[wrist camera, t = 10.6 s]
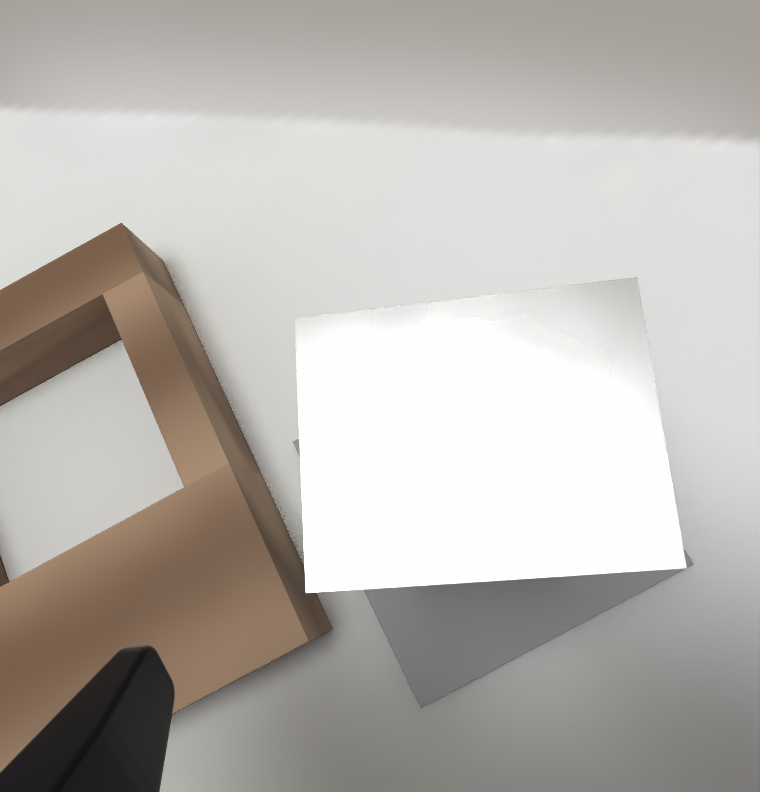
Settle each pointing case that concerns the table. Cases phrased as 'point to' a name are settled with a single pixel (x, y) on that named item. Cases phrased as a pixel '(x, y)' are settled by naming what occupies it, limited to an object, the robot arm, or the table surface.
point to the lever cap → (483, 441)
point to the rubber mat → (490, 620)
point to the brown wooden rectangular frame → (153, 526)
